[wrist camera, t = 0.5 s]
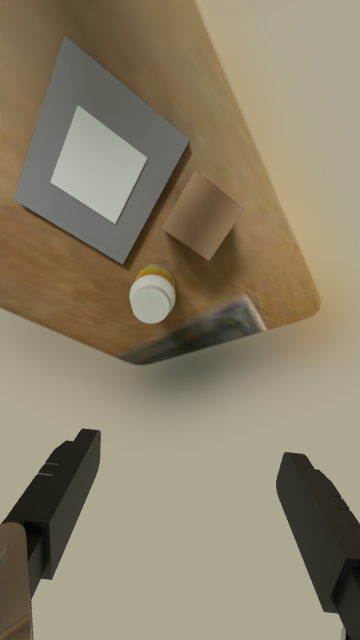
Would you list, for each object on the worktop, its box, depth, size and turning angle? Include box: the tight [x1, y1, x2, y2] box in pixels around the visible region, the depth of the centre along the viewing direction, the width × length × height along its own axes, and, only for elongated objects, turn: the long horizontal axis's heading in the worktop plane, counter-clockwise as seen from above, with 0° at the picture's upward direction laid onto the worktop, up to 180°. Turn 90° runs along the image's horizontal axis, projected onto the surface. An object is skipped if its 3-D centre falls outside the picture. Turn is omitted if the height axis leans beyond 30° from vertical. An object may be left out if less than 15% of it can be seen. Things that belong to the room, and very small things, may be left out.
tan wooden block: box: [162, 170, 244, 260], centre depth 26 cm, size 6×6×7 cm
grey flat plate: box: [13, 35, 190, 265], centre depth 26 cm, size 14×16×1 cm
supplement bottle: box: [129, 264, 176, 324], centre depth 28 cm, size 5×5×10 cm
